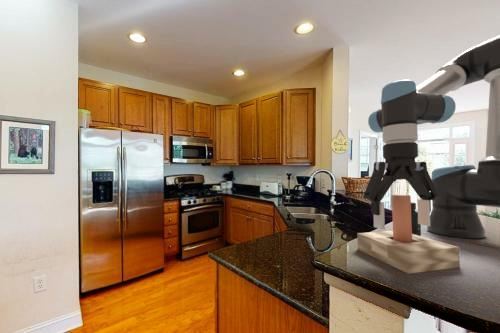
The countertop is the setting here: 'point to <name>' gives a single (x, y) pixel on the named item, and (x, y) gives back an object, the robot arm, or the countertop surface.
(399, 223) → the terracotta dowel
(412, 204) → the supplement bottle
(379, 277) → the countertop surface
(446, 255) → the bore block
